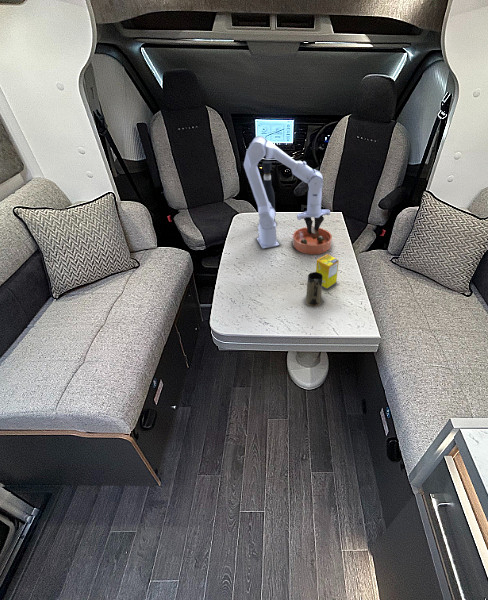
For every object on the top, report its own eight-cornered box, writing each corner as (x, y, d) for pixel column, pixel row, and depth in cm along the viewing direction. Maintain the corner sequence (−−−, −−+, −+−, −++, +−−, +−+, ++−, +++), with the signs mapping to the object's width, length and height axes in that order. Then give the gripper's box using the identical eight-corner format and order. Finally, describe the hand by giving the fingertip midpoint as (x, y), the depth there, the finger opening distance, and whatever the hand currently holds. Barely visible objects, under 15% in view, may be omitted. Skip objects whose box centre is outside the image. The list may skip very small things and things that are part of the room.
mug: (305, 296, 125) (307, 268, 117) (320, 296, 125) (322, 269, 117) (306, 310, 119) (308, 282, 111) (322, 310, 119) (324, 282, 111)
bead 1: (299, 244, 153) (299, 238, 151) (305, 243, 154) (305, 237, 152) (301, 247, 151) (302, 241, 149) (308, 246, 152) (308, 240, 150)
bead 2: (315, 241, 155) (316, 235, 153) (321, 240, 156) (322, 234, 154) (318, 244, 153) (318, 238, 151) (324, 243, 154) (324, 237, 152)
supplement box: (324, 277, 134) (326, 253, 127) (336, 284, 131) (339, 259, 124) (314, 283, 131) (316, 259, 124) (326, 290, 128) (328, 266, 121)
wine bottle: (270, 228, 166) (268, 165, 147) (259, 224, 168) (256, 162, 149) (277, 223, 170) (276, 161, 151) (267, 220, 173) (265, 158, 154)
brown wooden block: (306, 231, 153) (307, 226, 151) (312, 230, 153) (312, 225, 152) (313, 239, 148) (313, 233, 146) (318, 238, 148) (319, 232, 147)
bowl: (287, 239, 158) (287, 230, 155) (321, 233, 162) (321, 224, 160) (301, 257, 145) (301, 248, 142) (337, 250, 150) (338, 241, 147)
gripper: (301, 208, 136) (300, 239, 145) (334, 203, 140) (331, 233, 149) (295, 202, 141) (294, 231, 150) (326, 197, 145) (324, 226, 154)
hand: (312, 232), depth 150 cm, fingers closed on brown wooden block, 2 cm apart
